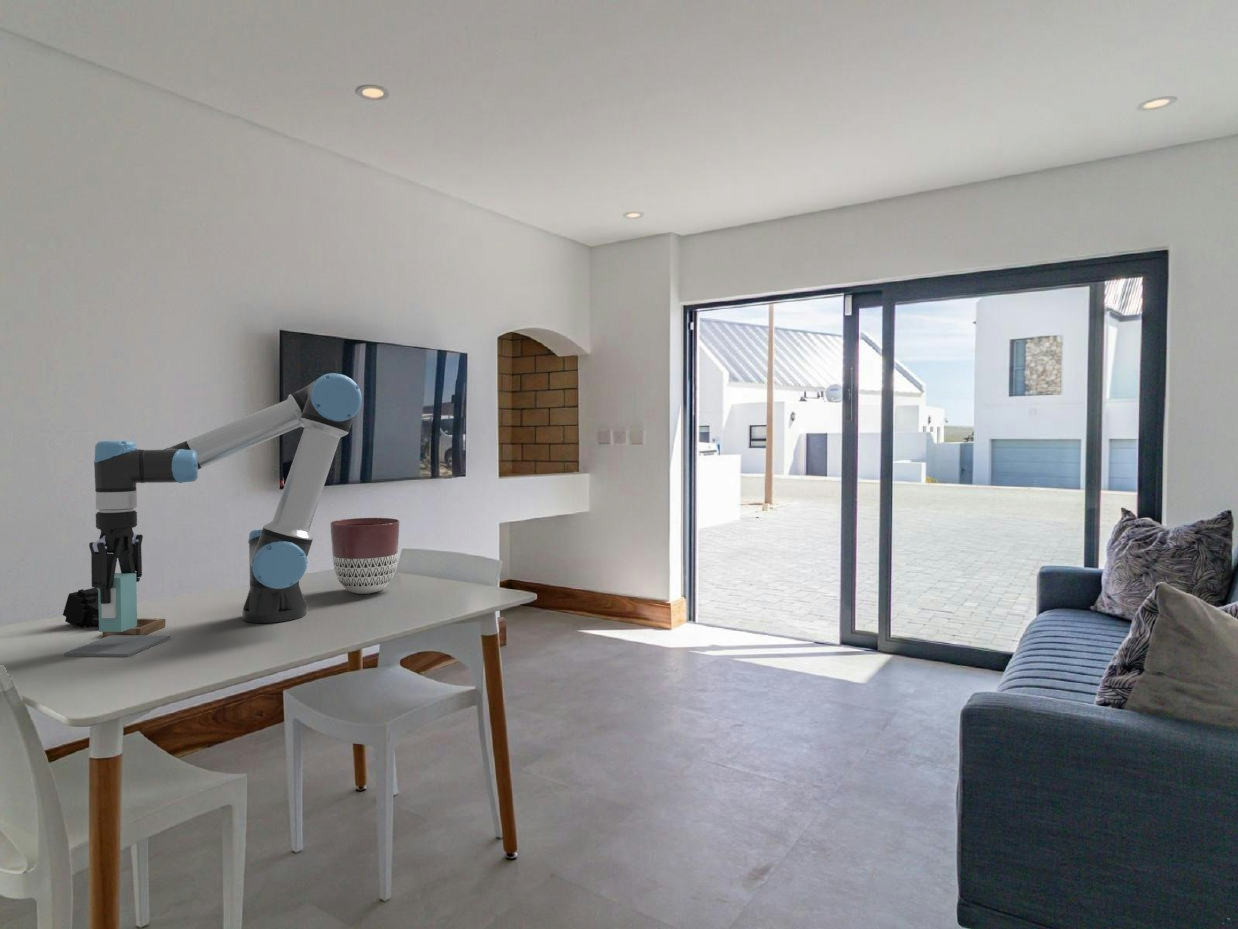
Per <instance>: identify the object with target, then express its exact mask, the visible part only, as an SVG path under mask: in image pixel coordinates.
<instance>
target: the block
mask: <svg viewBox="0 0 1238 929" xmlns="http://www.w3.org/2000/svg"><path fill="white" fill-rule="evenodd" d="M112 588H116V618H102V607H101V602H100V589H98V604H99V625H98V632H100V633H102V632H123V631H126V630H128V629H131V628H133V627H136V626H137V618H138V602H137V600H138V599H137V598H138V594H137V592H138V589H137V582H136V573H121V572H120V573H119V572H115V575H114V582H113V587H112Z"/></svg>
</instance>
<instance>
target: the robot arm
mask: <svg viewBox="0 0 1238 929" xmlns="http://www.w3.org/2000/svg"><path fill="white" fill-rule="evenodd" d="M362 401H363V398H362V392H361V389H360V387H359V385H358V384H357V383H356V382H355V381H354V380H353V379H352V378H350V377H349V376H347V375H345V374H341V373H335V372H331V373H326V374H323V375H321V376H320V377H318V378H317V379H315V380H313V381H312V382H311V383H309V384H308V385H307V386H304V387H303V388H301V389H299V390H297V391H295V392H293V393H289V394H288V397H287V399H285V400H283V401H281V402H278V403H275V404H273V405H270V406H269V407H266V408H263V409H262V410H259V411H256V412H253V413H250V414H249V415H246V416H243V417H241V418H239V419H236V420H234V421H231V422H230V423H227V424H223V425H222V426H219V427H217V428H215V429H211V430H210V431H207V432H204V433H201V434H199V435H197V436H195V437H192V438H190V439H187V440H186V441H182V442H180V443H177V444H175V445H172V446H169V447H166V448H164V449H140V448H139V449H138V447H137V444H136V442H135V441H133V440H101V441H100V440H99V441H98V442H97V443H96V444H95V446H94V461H93V464H94V466H93V467H94V468H93V469H94V488H95V489H94V490H95V509H96V510H97V511H98V512H96V513H95V528H96V529H98V530H100V535H99V537H98V540H97V541H93V542H89V544H88V547H89V550H90V553H91V557H90V558H91V564H90V565H91V588H95V589H100V602H101V607H102V618H116V588H112V587H113V582H114V575H115V573H116V568H117V563H118V564H119V569H120V573H136V583H139V582H140V580H141V579H140V578H142V576H143V566H142V565H143V561H142V559H143V558H142V542H143V539H144V536H143V534H135V533H134V531H133V528H136V527H137V526H138V516H137V515H138V512H137V510H135V509H136V508H137V507H138V496H137V495H138V494H137V492H138V491H137V484H146V483H147V484H149V483H150V484H151V483H152V484H153V483H154V484H155V483H157V484H158V483H159V484H160V483H161V484H163V483H171V484H172V483H178V484H183V483H194V482H196V481H197V479H198V478H199V477H198V476H199V475H198V473H199V471H200V470H201V469H202V468H205V467H207V466H210V465H212V464H215V463H217V462H219V461H223V459H226V458H230V457H231V456H234V455H237V454H239V453H241V452H243V451H245V450H248V449H251V448H253V447H255V446H258V445H259V444H263V443H265V442H267V441H269V440H272V439H274V438H277V437H279V436H281V435H283V434H287V433H288V432H291V431H293V430H295V429H298V428H303V429H302V430H303V432H302V434H301V436H300V440H299V443H298V446H297V449H296V451H295V454H294V457H293V460H292V463H291V466H290V469H289V472H288V475H287V477H286V480H285V483H284V486H283V489H282V492H281V495H280V498H279V501H278V504H277V507H276V510H275V512H274V516H273V518H272V520H271V521H270V522H268V523H266V524H265V525H263V527H262V529H253V530H251V531H250V532H249V536H248V541H247V543H248V544H249V545H248V548H249V555H248V556H249V557H248V558H249V590H248V593H247V596H246V599H245V602H244V605H243V608H242V620H243V621H244V622H247V623H253V624H267V623H268V624H271V623H280V622H281V623H282V622H288V621H292V620H296V619H300V618H302V617H304V616H306V615H307V613H308V612H307V611H308V610H307V609H308V608H307V603H306V600H305V598H304V595H303V592H302V590H301V587H300V581H301V579H302V578H303V576H304V575H305V574H306V570H307V567H308V555H309V553H310V549H311V546H312V543H313V540H314V537H313V535H312V533H311V531H310V528H311V526H312V522H313V519H314V517H315V513H316V510H317V507H318V504H319V502H320V499H321V495H322V493H323V490H324V487H325V484H326V481H327V478H328V475H329V472H330V469H331V467H332V463H333V459H334V457H335V454H336V451H337V449H338V446H339V442H340V439H341V438H342V437H345V436H347V435H348V434H349V433H350V431H351V430H350V429H351V426H352V424H353V421H354V418H355V416H356V415H357V414H358V413H359V411H360V410H361V407H362ZM117 561H118V562H117Z"/></svg>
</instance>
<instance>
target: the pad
mask: <svg viewBox="0 0 1238 929" xmlns="http://www.w3.org/2000/svg"><path fill="white" fill-rule="evenodd" d="M171 636H172V635H161V634H160V635H159V634H158V635H154V634H153V635H152V634H151V635H149V634H147V635H110V636H107V637H103V638H98V639H97V640H95V641H92V642H89V643H86V644H83V645H81V646H79V647H76V648H74V649H71V650H67V651H65V652H64V653H63V656H64V657H107V658H108V657H110V658H111V657H113V658H114V657H118V658H121V657H122V658H124V657H125V658H129V657H132V656H134V655H136V654H138V653H140V652H143V651H144V650H147V649H150V648H151V647H154V646H156V645H159V644H161V643H163V642H165V641H168V640H170V639H171Z"/></svg>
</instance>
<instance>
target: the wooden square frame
mask: <svg viewBox="0 0 1238 929" xmlns="http://www.w3.org/2000/svg"><path fill="white" fill-rule="evenodd" d="M165 627H166V618H142V617H141V618H140V617H139V618H138V617H137V626H136V627H133V628H131V629H128V630H126V631H123V632H101V633H102V634H101V635H102V637H103V638H104V637H107V636H110V635H149V634H151V633H154V632H156V631H159V630H161V629H164V628H165Z"/></svg>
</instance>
